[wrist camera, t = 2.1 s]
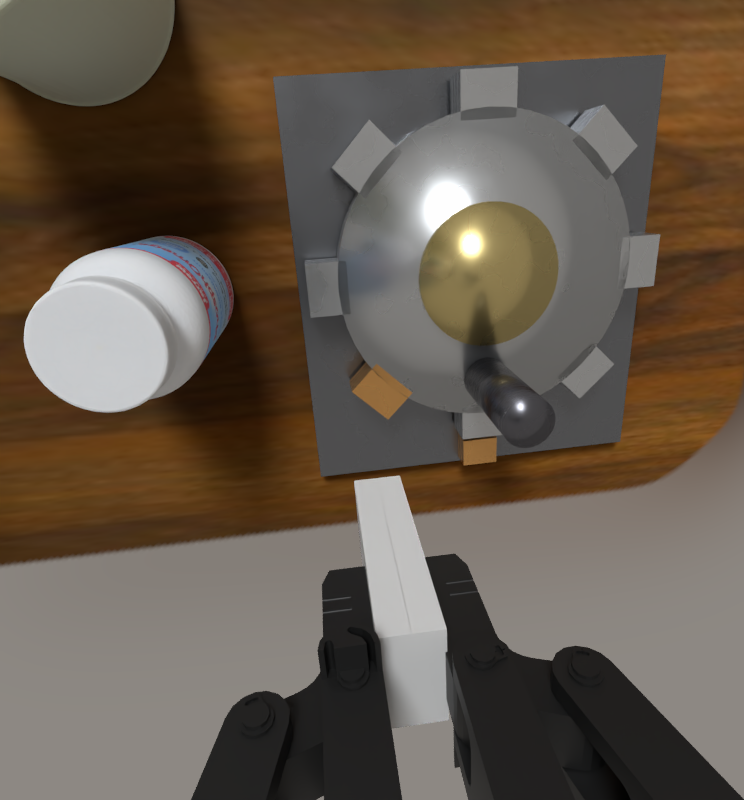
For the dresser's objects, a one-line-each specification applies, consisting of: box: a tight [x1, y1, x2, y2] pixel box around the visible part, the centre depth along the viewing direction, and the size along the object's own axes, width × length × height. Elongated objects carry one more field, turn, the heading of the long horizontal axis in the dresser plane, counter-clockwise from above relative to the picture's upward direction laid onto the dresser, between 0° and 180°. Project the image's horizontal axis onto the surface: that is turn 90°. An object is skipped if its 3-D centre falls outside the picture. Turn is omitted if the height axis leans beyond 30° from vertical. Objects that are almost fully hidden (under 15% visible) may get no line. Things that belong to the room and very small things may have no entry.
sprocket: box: [305, 66, 660, 448], centre depth 24 cm, size 18×18×8 cm
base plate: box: [273, 55, 666, 477], centre depth 29 cm, size 19×21×2 cm
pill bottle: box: [24, 236, 234, 412], centre depth 23 cm, size 6×6×11 cm
